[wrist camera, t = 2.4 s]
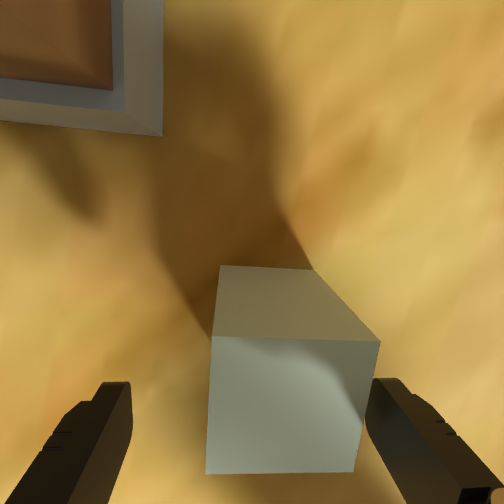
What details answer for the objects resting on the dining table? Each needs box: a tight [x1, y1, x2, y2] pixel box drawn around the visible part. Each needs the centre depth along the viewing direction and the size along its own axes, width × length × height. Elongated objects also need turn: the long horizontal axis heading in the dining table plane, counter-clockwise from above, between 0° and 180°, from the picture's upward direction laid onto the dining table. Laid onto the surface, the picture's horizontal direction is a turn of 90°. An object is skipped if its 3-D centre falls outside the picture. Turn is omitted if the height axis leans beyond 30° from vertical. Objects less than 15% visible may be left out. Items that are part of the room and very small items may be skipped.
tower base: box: [0, 0, 164, 137], centre depth 10 cm, size 7×7×5 cm
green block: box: [205, 265, 381, 474], centre depth 12 cm, size 5×5×7 cm
